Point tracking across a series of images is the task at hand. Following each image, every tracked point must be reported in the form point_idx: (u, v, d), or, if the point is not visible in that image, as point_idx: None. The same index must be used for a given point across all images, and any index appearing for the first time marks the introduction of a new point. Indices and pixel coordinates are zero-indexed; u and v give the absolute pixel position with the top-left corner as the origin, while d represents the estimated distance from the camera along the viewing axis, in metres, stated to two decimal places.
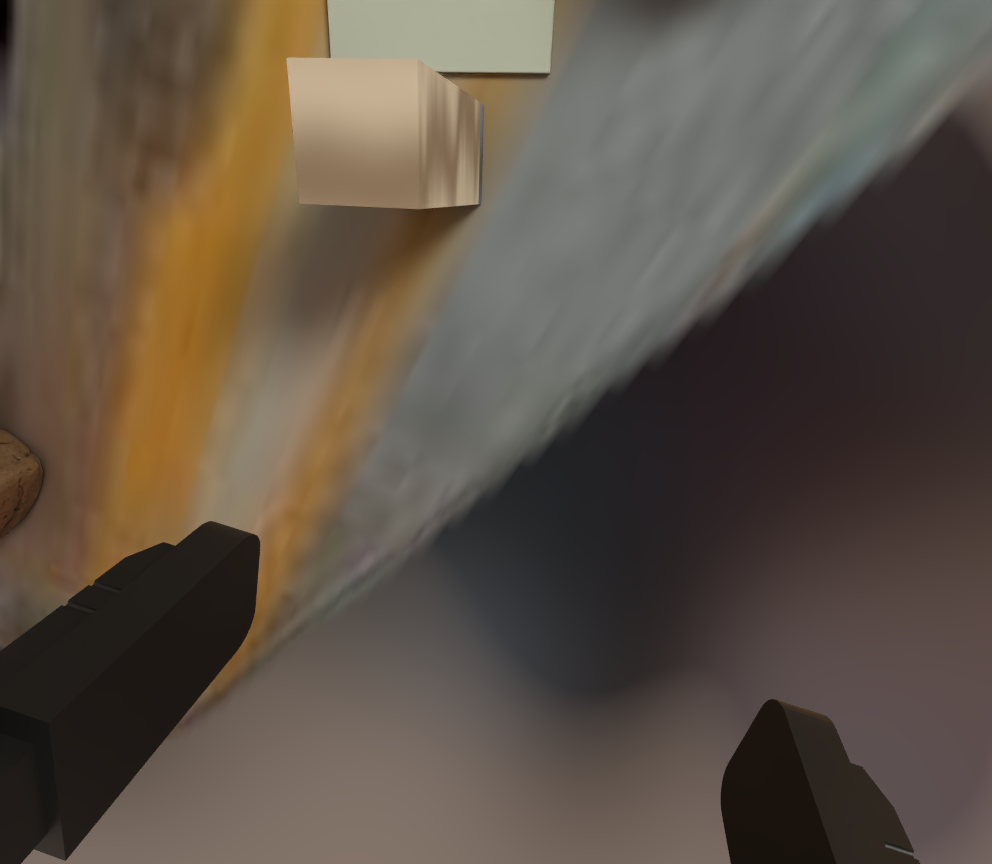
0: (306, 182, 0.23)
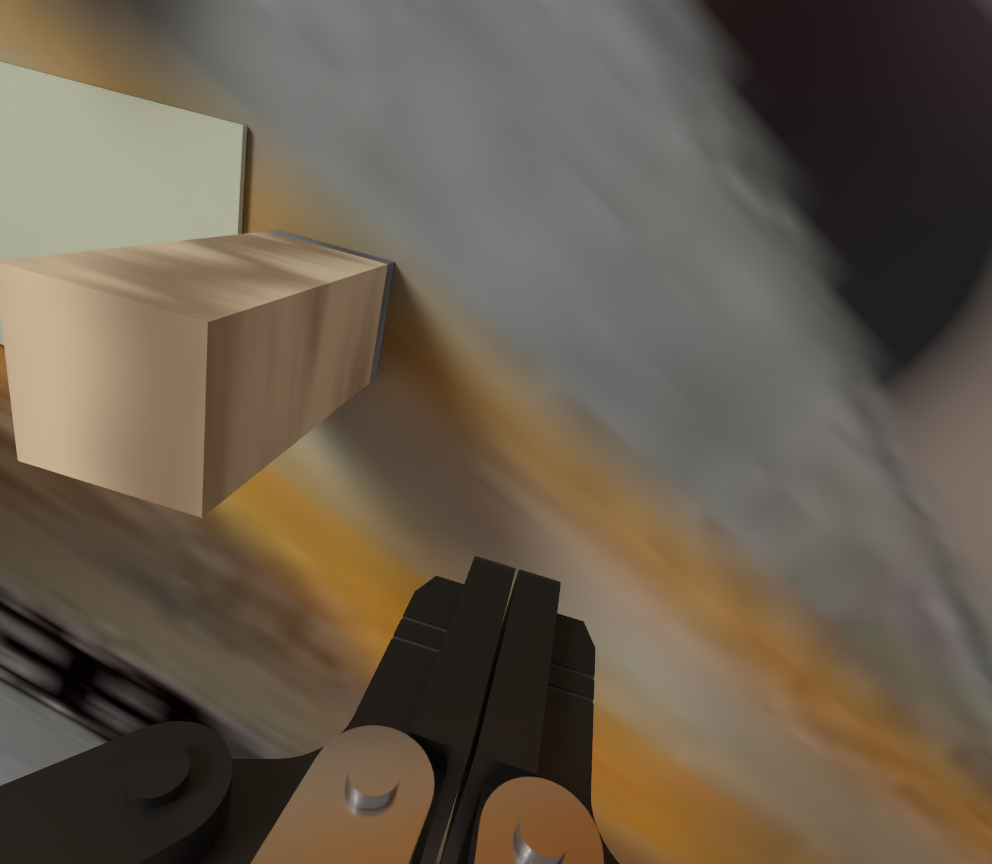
0: (172, 495, 0.14)
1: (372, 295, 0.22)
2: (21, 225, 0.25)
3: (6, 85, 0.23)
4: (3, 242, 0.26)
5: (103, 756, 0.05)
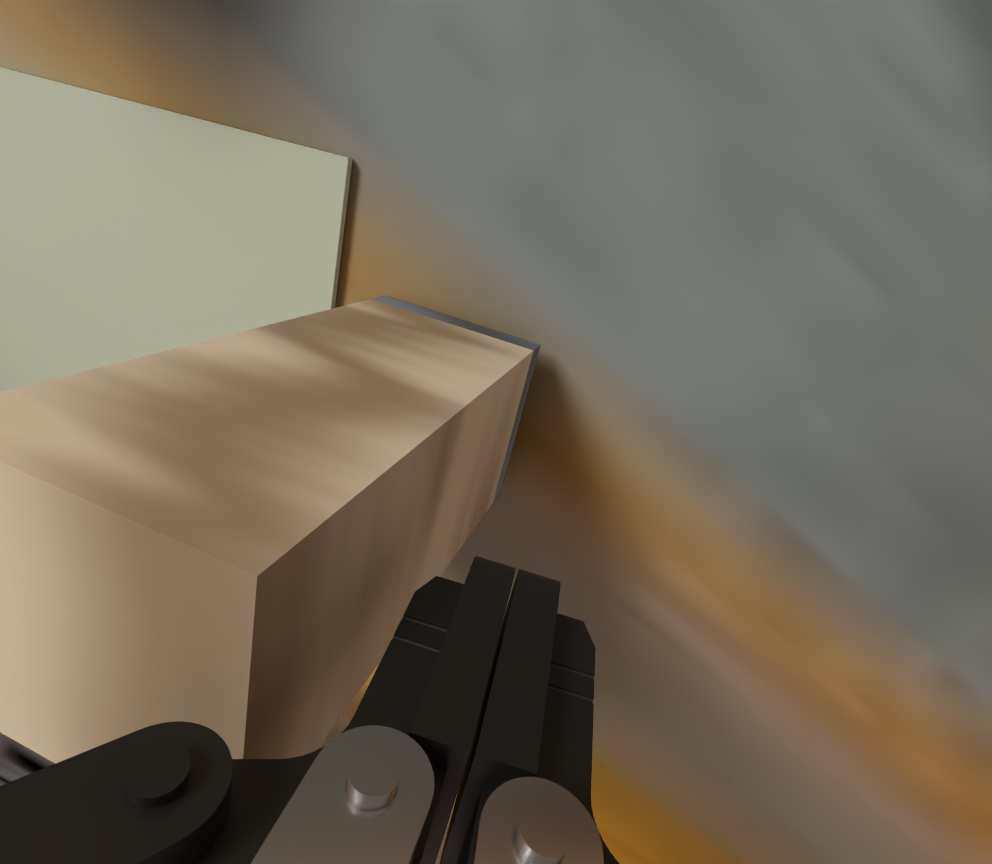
0: None
1: (511, 397, 0.15)
2: (43, 284, 0.19)
3: (24, 103, 0.17)
4: (18, 305, 0.20)
5: (103, 756, 0.05)
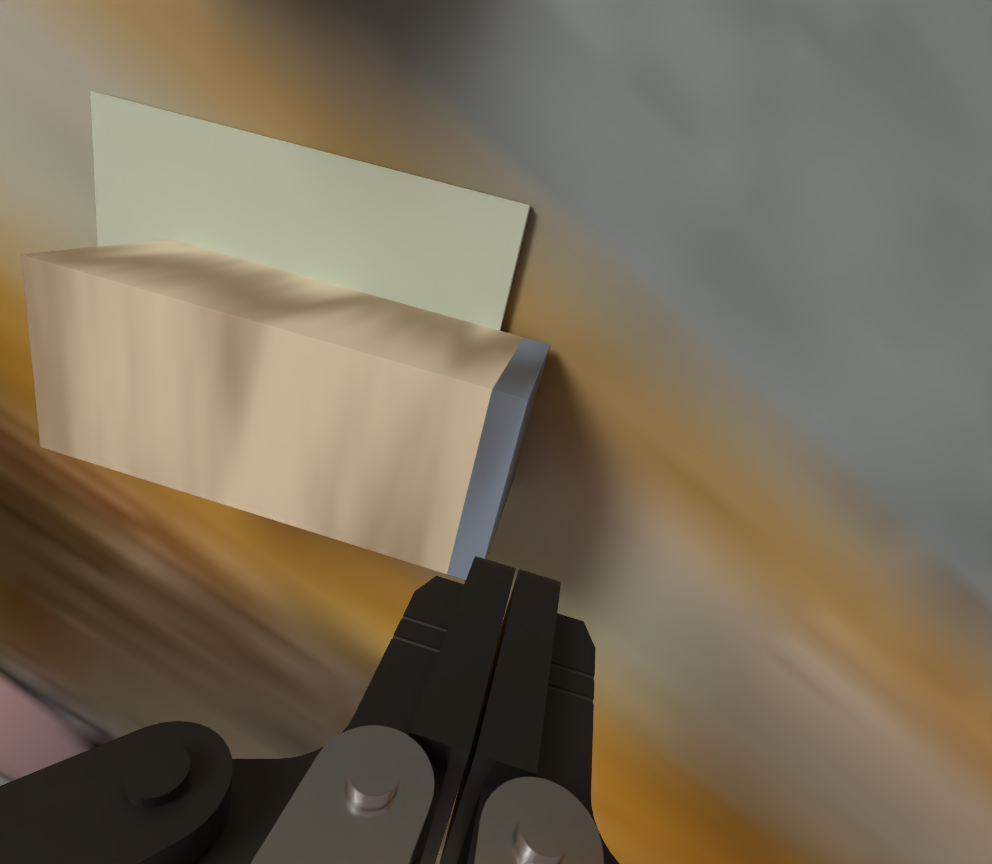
0: None
1: (429, 417, 0.13)
2: None
3: (188, 146, 0.17)
4: None
5: (103, 756, 0.05)
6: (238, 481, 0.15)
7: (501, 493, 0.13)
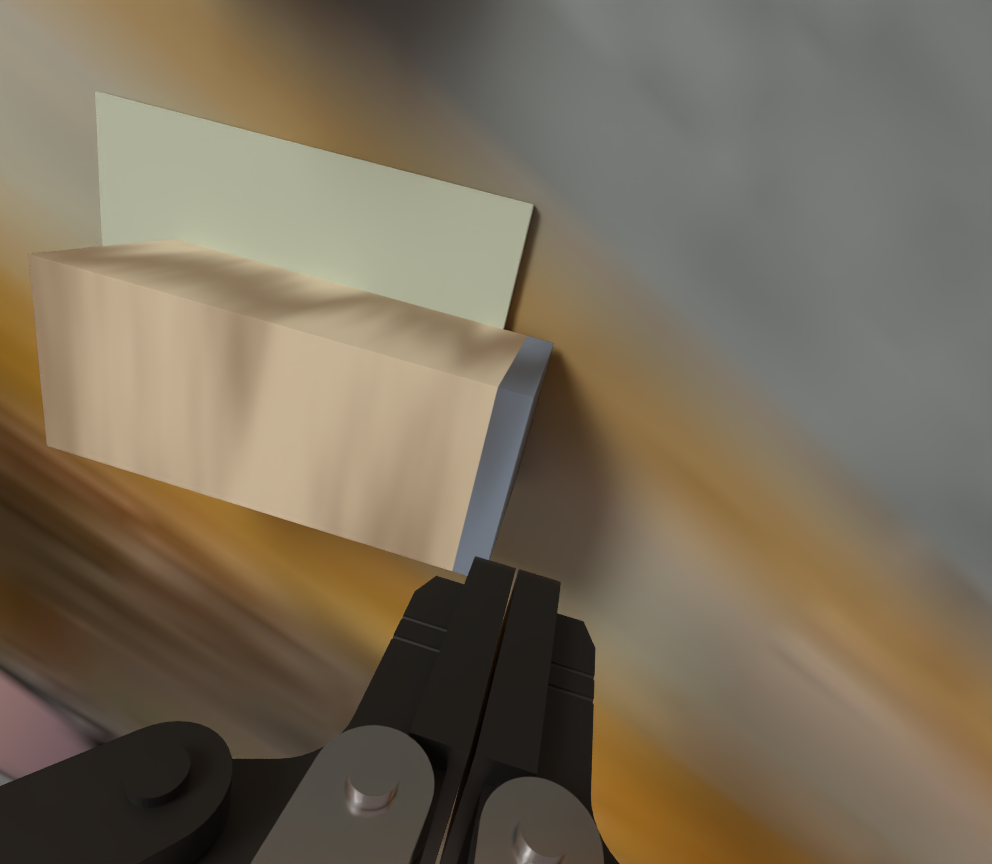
0: None
1: (435, 415, 0.13)
2: None
3: (192, 146, 0.17)
4: None
5: (103, 756, 0.05)
6: (244, 479, 0.15)
7: (506, 490, 0.13)
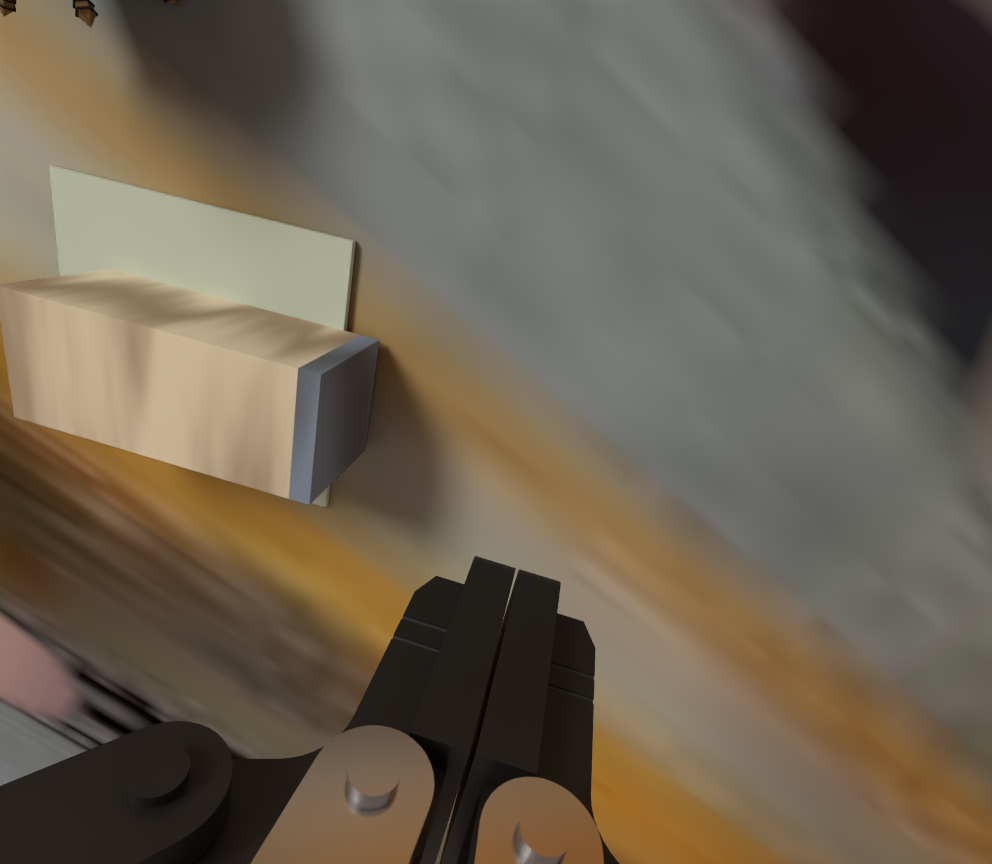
0: None
1: (262, 388, 0.19)
2: None
3: (118, 203, 0.23)
4: None
5: (103, 756, 0.05)
6: (146, 437, 0.21)
7: (314, 439, 0.20)
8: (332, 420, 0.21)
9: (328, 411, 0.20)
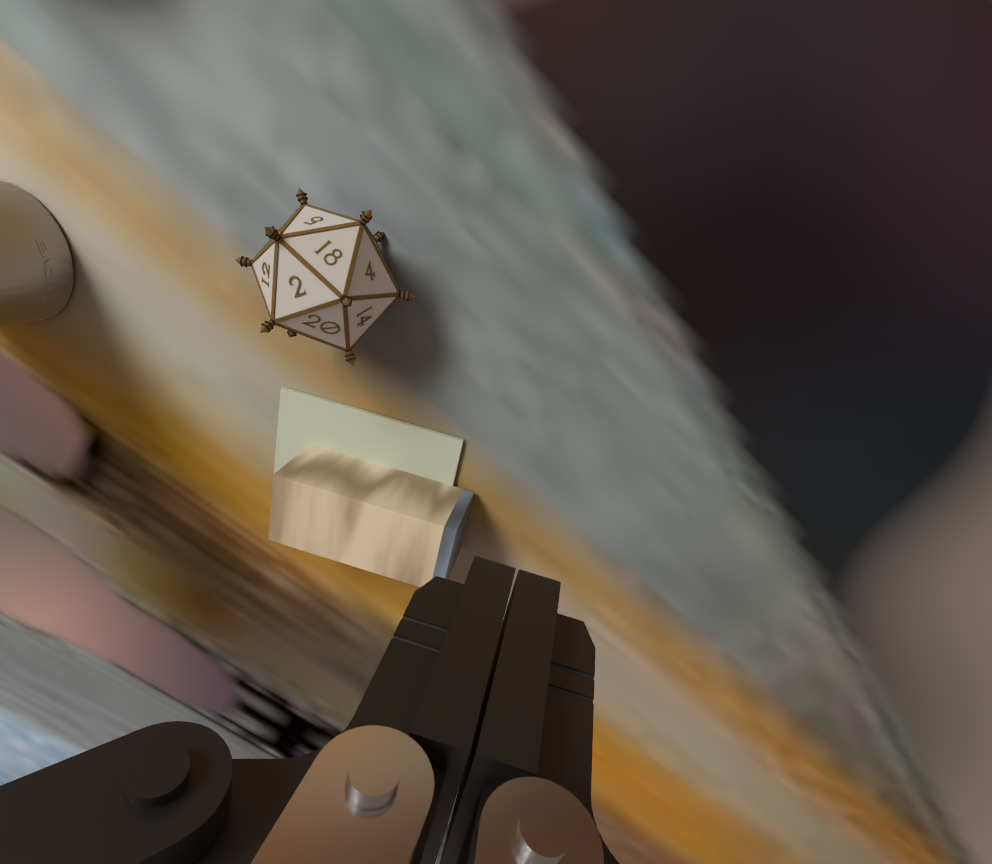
0: None
1: (422, 534, 0.36)
2: None
3: (321, 410, 0.40)
4: None
5: (104, 756, 0.05)
6: (349, 554, 0.38)
7: (448, 561, 0.36)
8: (454, 547, 0.37)
9: (454, 544, 0.37)
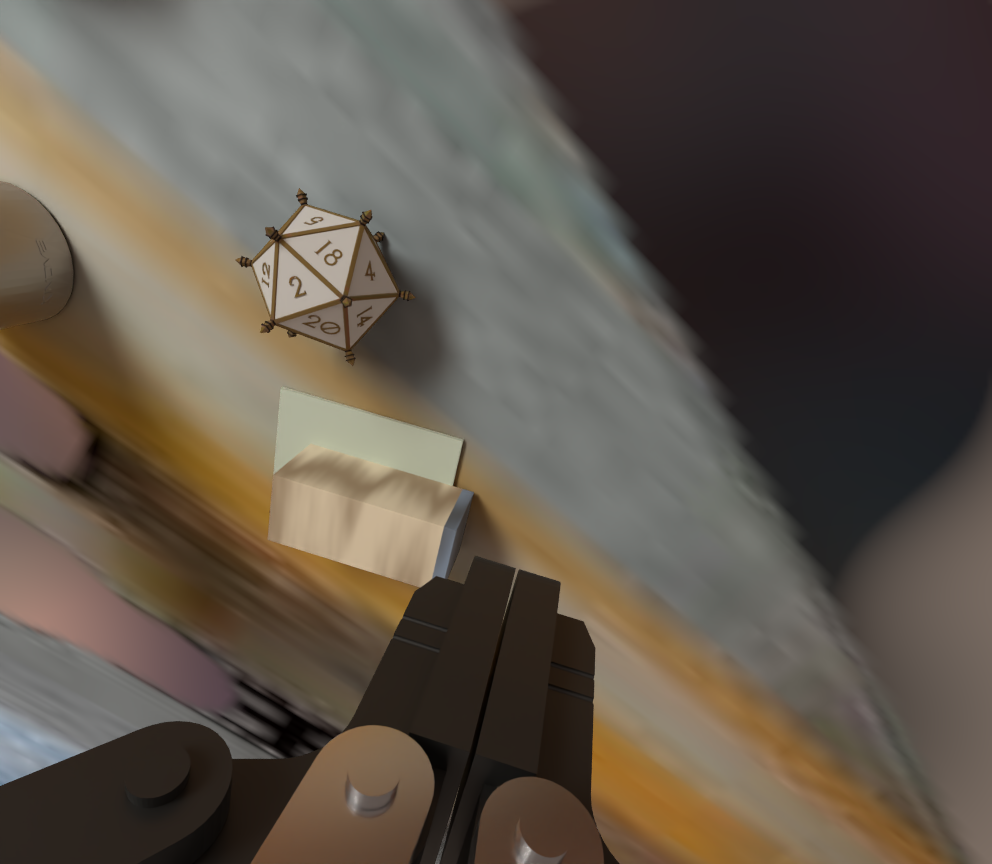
0: None
1: (422, 534, 0.36)
2: None
3: (321, 410, 0.40)
4: None
5: (103, 756, 0.05)
6: (348, 554, 0.38)
7: (448, 561, 0.36)
8: (454, 547, 0.38)
9: (454, 544, 0.37)
